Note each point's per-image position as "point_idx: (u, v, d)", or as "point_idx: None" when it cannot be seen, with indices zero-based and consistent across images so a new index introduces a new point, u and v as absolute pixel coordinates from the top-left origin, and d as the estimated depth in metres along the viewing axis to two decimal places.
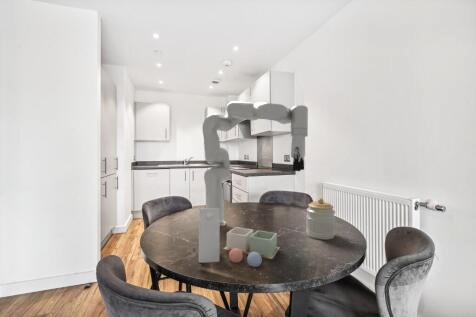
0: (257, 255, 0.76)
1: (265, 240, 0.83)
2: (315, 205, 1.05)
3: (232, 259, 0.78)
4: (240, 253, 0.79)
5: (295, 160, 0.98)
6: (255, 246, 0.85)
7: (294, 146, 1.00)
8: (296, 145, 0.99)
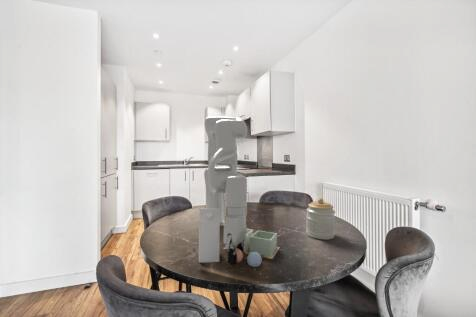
0: (257, 255, 0.76)
1: (265, 240, 0.83)
2: (315, 205, 1.05)
3: None
4: (240, 253, 0.79)
5: (229, 253, 0.76)
6: (255, 246, 0.85)
7: (226, 232, 0.76)
8: (229, 231, 0.75)
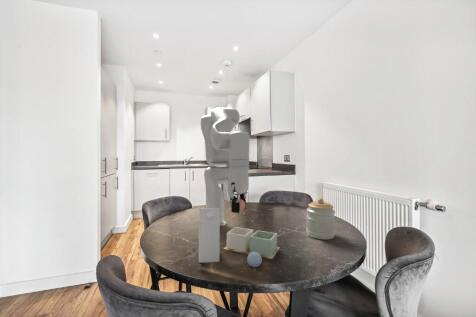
0: (257, 255, 0.76)
1: (265, 240, 0.83)
2: (315, 205, 1.05)
3: None
4: (243, 202, 0.86)
5: (232, 200, 0.84)
6: (255, 246, 0.85)
7: (230, 181, 0.83)
8: (232, 180, 0.83)
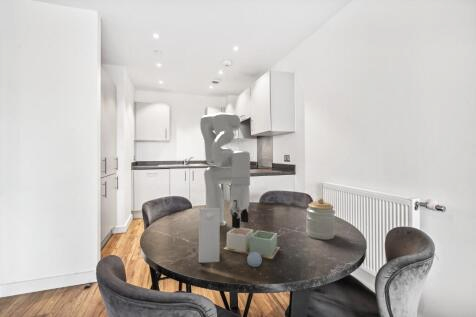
0: (257, 255, 0.76)
1: (265, 240, 0.83)
2: (315, 205, 1.05)
3: None
4: None
5: (233, 216, 0.86)
6: (255, 246, 0.85)
7: (232, 198, 0.87)
8: (234, 198, 0.87)
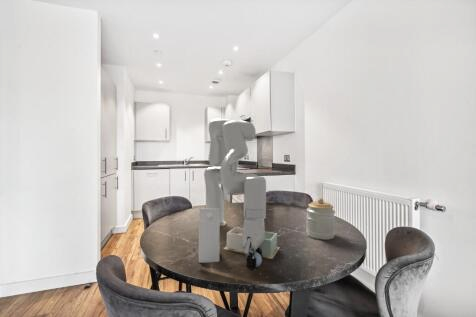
0: (257, 255, 0.76)
1: (265, 240, 0.83)
2: (315, 205, 1.05)
3: None
4: None
5: (248, 257, 0.73)
6: None
7: (246, 235, 0.73)
8: (248, 234, 0.72)
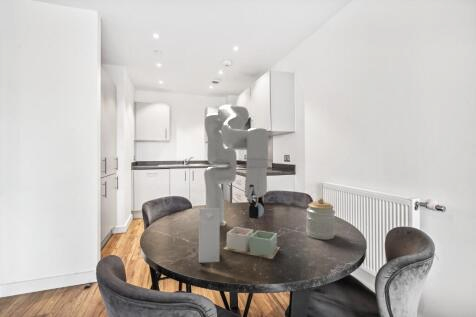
0: (259, 205, 0.78)
1: (265, 240, 0.83)
2: (315, 205, 1.05)
3: None
4: None
5: (251, 205, 0.75)
6: (255, 246, 0.85)
7: (248, 183, 0.75)
8: (251, 182, 0.74)
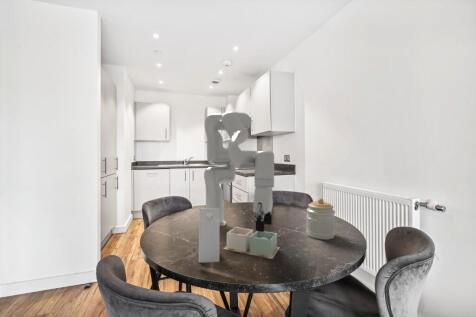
0: None
1: (265, 240, 0.83)
2: (315, 205, 1.05)
3: None
4: None
5: (257, 219, 0.82)
6: (255, 246, 0.85)
7: (257, 201, 0.83)
8: (259, 200, 0.83)
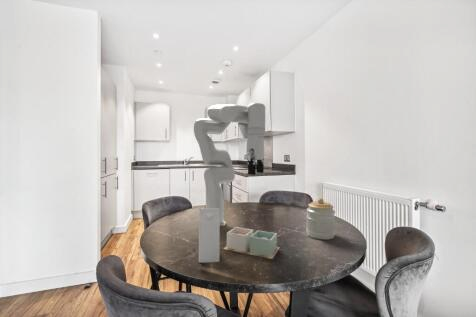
0: None
1: (265, 240, 0.83)
2: (315, 205, 1.05)
3: None
4: None
5: (249, 163, 0.90)
6: (255, 246, 0.85)
7: (249, 147, 0.92)
8: (251, 146, 0.91)
